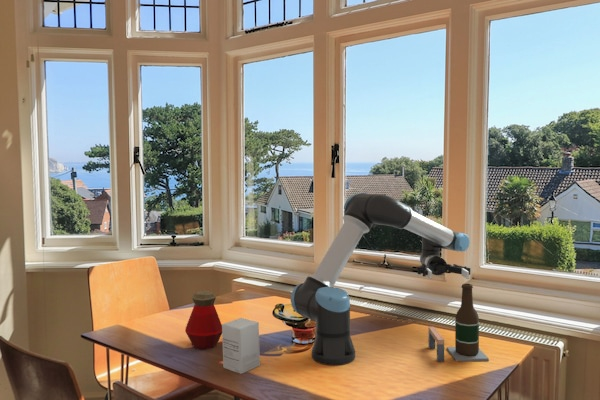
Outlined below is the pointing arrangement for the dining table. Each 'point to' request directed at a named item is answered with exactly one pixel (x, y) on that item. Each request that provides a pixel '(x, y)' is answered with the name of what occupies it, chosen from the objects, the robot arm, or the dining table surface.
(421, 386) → the dining table surface
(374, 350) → the dining table surface
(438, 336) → the hurdle bar
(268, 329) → the dining table surface
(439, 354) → the hurdle posts
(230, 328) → the supplement box
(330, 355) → the robot arm
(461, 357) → the grey mat
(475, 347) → the beer bottle
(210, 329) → the red faceted jar
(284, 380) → the dining table surface
